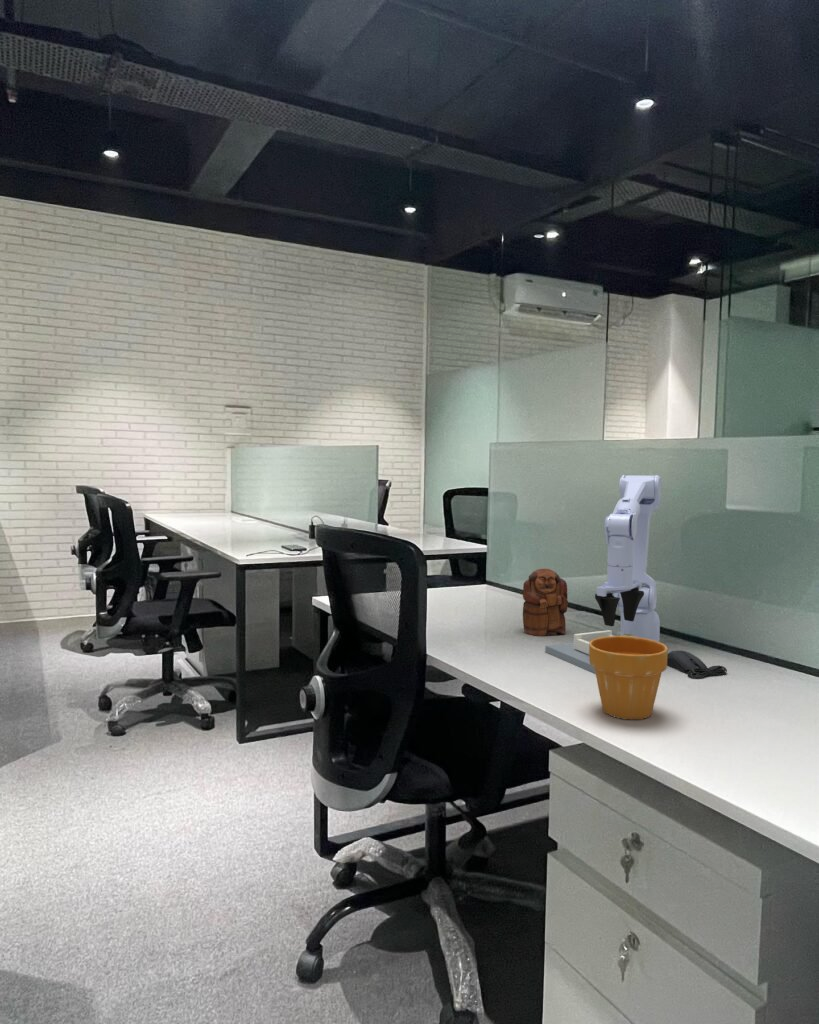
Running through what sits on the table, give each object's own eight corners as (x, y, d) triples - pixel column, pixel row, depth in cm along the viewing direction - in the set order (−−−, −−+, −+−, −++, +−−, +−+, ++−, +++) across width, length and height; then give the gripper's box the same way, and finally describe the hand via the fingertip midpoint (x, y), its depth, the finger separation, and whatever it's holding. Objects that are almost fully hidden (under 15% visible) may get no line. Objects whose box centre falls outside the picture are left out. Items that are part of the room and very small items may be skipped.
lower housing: (608, 643, 179) (609, 630, 179) (635, 653, 170) (635, 639, 170) (573, 648, 175) (573, 634, 174) (598, 658, 166) (599, 643, 165)
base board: (597, 645, 185) (597, 631, 185) (664, 670, 163) (664, 654, 163) (545, 651, 179) (545, 637, 178) (607, 678, 157) (607, 662, 156)
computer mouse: (684, 660, 173) (685, 644, 172) (730, 676, 159) (731, 660, 159) (650, 664, 169) (650, 648, 169) (694, 682, 156) (694, 664, 155)
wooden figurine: (528, 637, 194) (529, 571, 193) (521, 631, 200) (521, 567, 199) (570, 635, 196) (570, 570, 195) (561, 629, 202) (561, 566, 201)
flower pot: (621, 730, 126) (623, 658, 125) (573, 705, 139) (573, 640, 138) (683, 718, 132) (684, 649, 131) (630, 696, 145) (631, 632, 144)
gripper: (624, 560, 173) (623, 615, 174) (586, 566, 165) (585, 624, 166) (649, 563, 168) (648, 620, 169) (611, 570, 159) (611, 630, 160)
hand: (619, 623), depth 167 cm, fingers open, 7 cm apart
